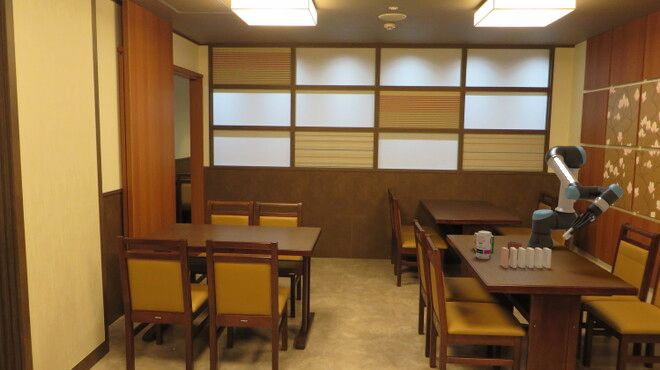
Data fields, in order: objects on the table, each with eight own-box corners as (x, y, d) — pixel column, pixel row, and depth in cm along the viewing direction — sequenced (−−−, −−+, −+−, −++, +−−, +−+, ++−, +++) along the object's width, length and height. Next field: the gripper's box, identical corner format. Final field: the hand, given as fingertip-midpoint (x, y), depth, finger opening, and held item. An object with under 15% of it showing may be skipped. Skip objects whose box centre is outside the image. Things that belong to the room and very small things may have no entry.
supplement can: (490, 256, 280) (492, 231, 279) (490, 260, 272) (492, 234, 271) (476, 255, 283) (477, 230, 281) (475, 258, 275) (477, 232, 273)
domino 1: (504, 265, 262) (505, 247, 261) (507, 267, 257) (509, 249, 256) (500, 265, 262) (501, 247, 261) (504, 267, 257) (505, 249, 256)
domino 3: (520, 265, 263) (522, 247, 262) (524, 268, 258) (526, 249, 257) (517, 265, 263) (518, 247, 262) (521, 267, 258) (522, 249, 257)
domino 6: (545, 265, 263) (547, 247, 262) (550, 268, 258) (551, 250, 257) (542, 265, 263) (543, 247, 262) (546, 268, 258) (547, 249, 257)
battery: (506, 256, 281) (507, 240, 279) (518, 257, 280) (519, 240, 279) (509, 258, 276) (510, 241, 275) (521, 259, 276) (522, 242, 275)
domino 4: (529, 265, 263) (530, 247, 262) (533, 268, 258) (534, 249, 257) (525, 265, 263) (526, 247, 262) (529, 268, 258) (530, 249, 257)
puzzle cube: (489, 249, 299) (490, 233, 298) (493, 253, 289) (494, 236, 288) (473, 248, 300) (474, 232, 299) (476, 252, 290) (477, 236, 289)
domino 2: (512, 265, 263) (513, 247, 262) (516, 267, 258) (517, 249, 257) (508, 265, 263) (510, 247, 261) (512, 267, 258) (513, 249, 256)
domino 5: (537, 265, 263) (538, 247, 262) (541, 268, 258) (543, 249, 257) (533, 265, 263) (535, 247, 262) (538, 268, 258) (539, 249, 257)
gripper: (586, 201, 264) (554, 230, 266) (600, 204, 252) (566, 235, 253) (594, 210, 265) (562, 240, 266) (609, 214, 252) (575, 245, 253)
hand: (564, 237), depth 259 cm, fingers closed
